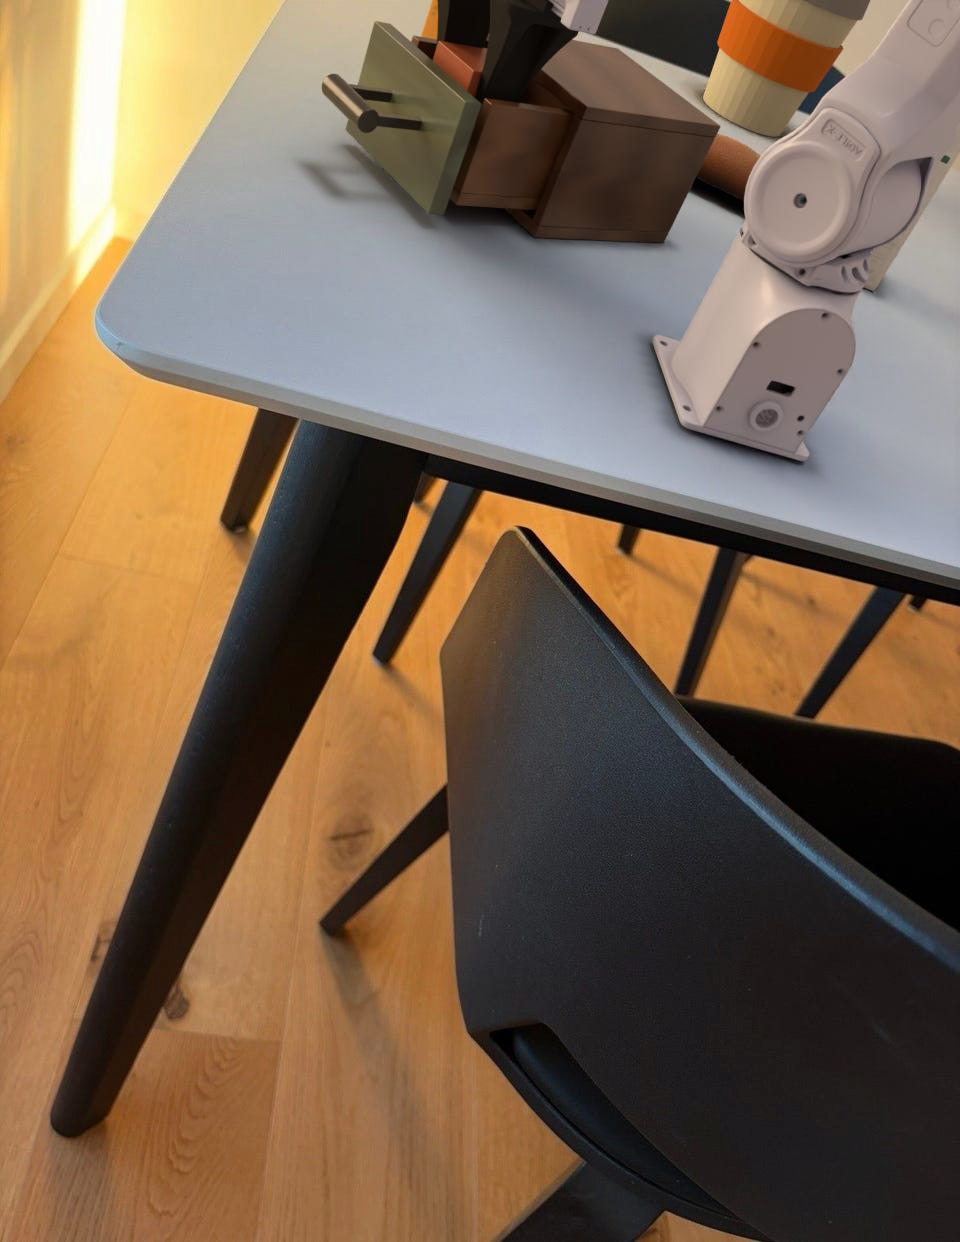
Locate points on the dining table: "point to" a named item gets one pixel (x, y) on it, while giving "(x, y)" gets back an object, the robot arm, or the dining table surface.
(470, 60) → the block
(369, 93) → the drawer
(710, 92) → the reusable coffee cup
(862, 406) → the dining table surface
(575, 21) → the robot arm
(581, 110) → the cabinet
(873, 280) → the syrup box
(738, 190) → the sunglasses case
